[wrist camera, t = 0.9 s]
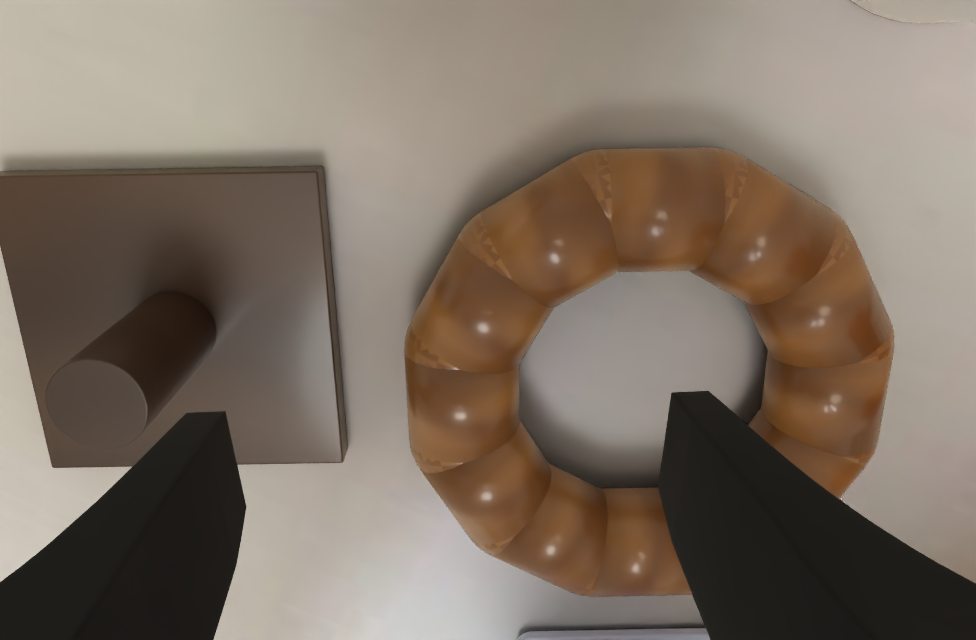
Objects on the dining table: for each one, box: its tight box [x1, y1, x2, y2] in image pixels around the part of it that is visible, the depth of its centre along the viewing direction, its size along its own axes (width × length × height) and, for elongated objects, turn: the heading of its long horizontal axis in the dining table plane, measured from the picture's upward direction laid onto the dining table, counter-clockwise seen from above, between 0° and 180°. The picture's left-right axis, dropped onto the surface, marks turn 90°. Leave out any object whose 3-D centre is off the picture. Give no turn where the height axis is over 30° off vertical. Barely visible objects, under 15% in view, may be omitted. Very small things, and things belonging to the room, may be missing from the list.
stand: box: [0, 166, 348, 468], centre depth 23 cm, size 10×10×6 cm
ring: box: [404, 147, 894, 597], centre depth 25 cm, size 15×15×4 cm
